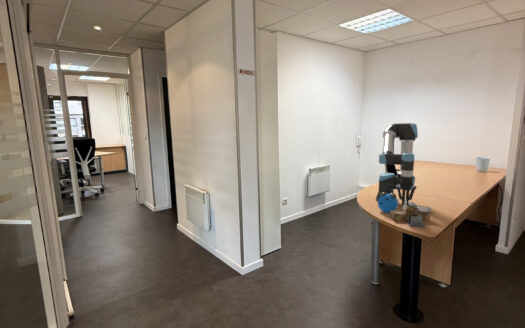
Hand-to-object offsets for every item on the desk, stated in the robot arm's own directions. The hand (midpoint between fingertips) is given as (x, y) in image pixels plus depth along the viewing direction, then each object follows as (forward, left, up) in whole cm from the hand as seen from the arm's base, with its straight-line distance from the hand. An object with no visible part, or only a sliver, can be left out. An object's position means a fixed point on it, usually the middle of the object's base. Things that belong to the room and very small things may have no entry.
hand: (404, 209), depth 193 cm
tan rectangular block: (0, +3, -2) cm, 4 cm away
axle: (0, +11, -2) cm, 11 cm away
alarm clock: (-14, -7, -7) cm, 17 cm away
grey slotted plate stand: (+10, +4, -7) cm, 13 cm away
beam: (0, +5, -7) cm, 9 cm away
